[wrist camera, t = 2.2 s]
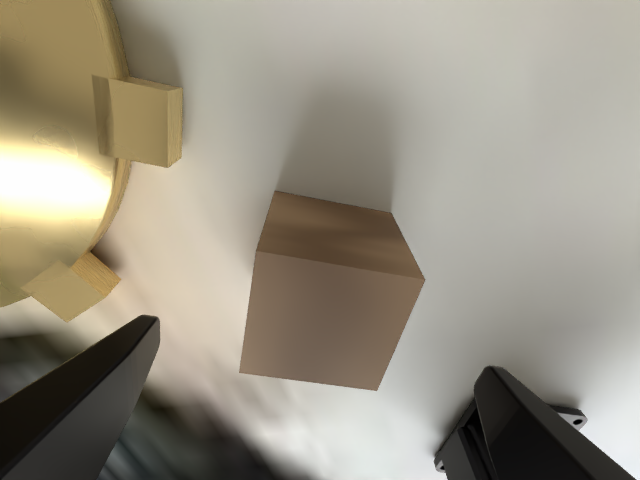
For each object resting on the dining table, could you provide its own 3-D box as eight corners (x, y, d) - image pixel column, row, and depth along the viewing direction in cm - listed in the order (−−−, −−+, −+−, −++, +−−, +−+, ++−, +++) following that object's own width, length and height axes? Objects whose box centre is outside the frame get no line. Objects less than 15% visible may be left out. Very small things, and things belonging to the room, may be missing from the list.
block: (391, 212, 13) (425, 279, 9) (360, 303, 15) (377, 390, 11) (275, 190, 12) (255, 250, 8) (259, 287, 14) (238, 372, 10)
